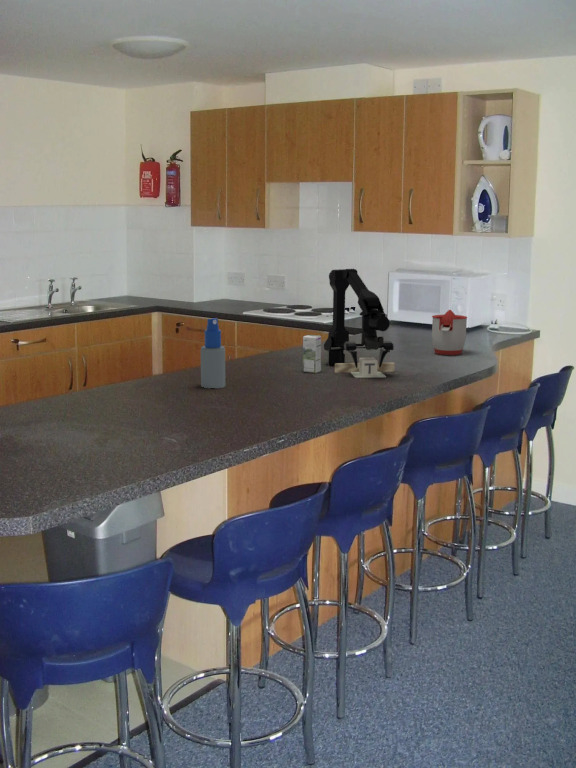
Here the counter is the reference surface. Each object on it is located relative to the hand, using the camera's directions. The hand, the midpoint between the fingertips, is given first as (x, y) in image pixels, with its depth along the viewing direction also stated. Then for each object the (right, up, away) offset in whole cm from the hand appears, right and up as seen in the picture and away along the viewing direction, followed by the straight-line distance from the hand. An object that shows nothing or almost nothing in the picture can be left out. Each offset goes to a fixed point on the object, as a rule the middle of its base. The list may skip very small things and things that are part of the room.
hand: (368, 367), depth 344 cm
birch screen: (-1, -2, +7) cm, 8 cm away
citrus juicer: (+41, +7, +52) cm, 66 cm away
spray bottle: (-59, -7, -22) cm, 63 cm away
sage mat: (0, -3, +1) cm, 3 cm away
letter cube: (0, -3, +1) cm, 3 cm away
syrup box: (-22, -2, +8) cm, 23 cm away
